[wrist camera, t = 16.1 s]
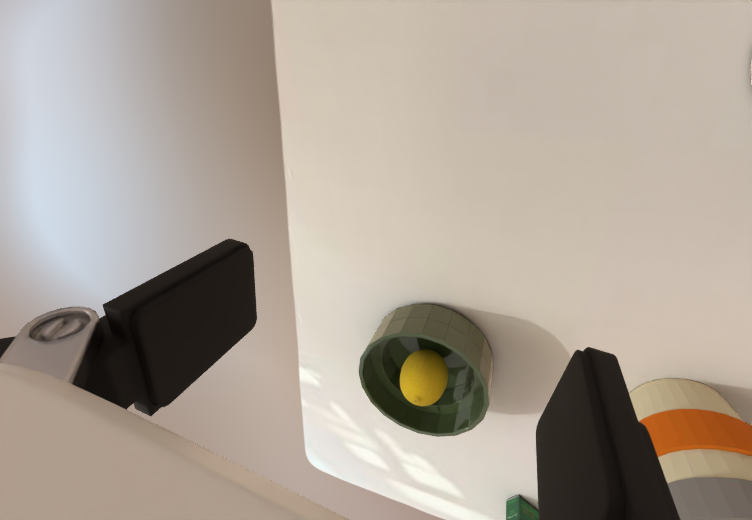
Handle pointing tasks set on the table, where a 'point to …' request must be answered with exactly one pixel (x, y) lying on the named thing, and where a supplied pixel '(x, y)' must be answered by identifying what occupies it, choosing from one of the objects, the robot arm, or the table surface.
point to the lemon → (423, 377)
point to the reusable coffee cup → (698, 448)
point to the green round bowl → (461, 355)
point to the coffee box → (520, 509)
